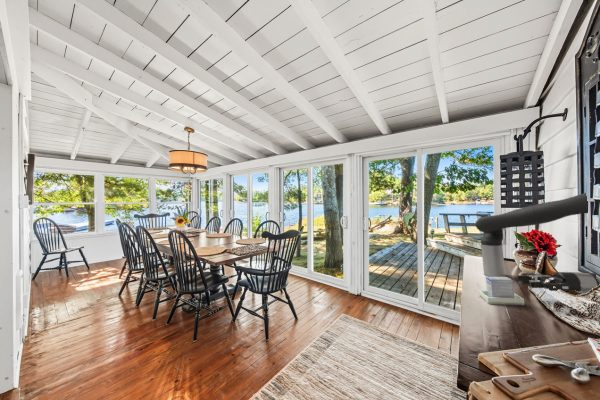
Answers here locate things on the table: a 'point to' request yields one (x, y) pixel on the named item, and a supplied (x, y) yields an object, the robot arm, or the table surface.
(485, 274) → the robot arm
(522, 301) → the tray
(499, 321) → the table surface
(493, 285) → the medicine box
